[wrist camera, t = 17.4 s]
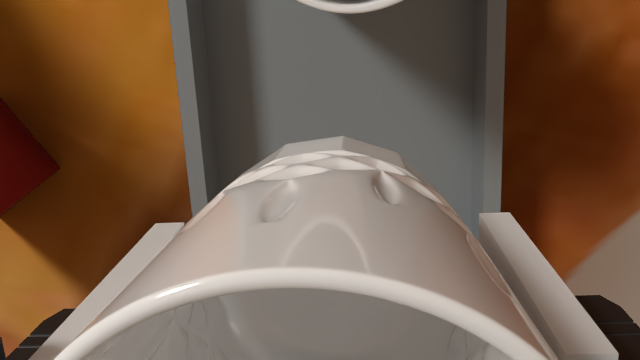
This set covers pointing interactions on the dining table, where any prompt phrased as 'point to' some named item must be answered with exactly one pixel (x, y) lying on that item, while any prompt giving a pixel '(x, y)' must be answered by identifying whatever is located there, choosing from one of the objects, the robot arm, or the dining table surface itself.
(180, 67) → the tray
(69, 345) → the white cup
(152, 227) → the robot arm
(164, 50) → the dining table surface
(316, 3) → the mug
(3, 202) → the french fries
